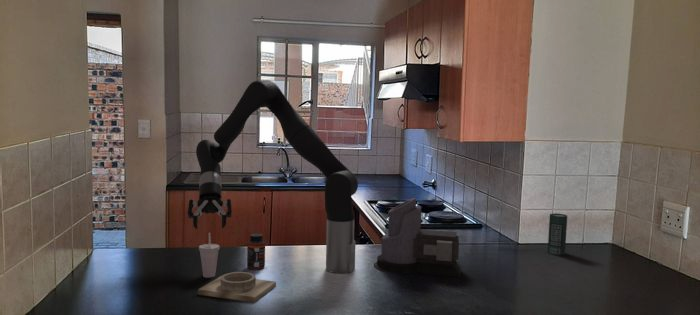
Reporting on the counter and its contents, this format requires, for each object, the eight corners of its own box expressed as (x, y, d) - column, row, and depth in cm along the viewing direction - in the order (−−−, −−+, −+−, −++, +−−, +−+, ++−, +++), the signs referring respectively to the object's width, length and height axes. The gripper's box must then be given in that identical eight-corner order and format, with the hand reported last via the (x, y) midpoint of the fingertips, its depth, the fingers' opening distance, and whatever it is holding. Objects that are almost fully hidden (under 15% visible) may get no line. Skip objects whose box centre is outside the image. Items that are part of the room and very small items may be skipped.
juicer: (369, 271, 179) (371, 199, 176) (377, 258, 194) (379, 192, 192) (460, 279, 172) (464, 204, 170) (461, 265, 188) (464, 196, 186)
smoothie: (201, 280, 165) (201, 235, 164) (196, 274, 171) (196, 231, 169) (221, 277, 168) (221, 234, 167) (216, 271, 174) (216, 229, 172)
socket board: (275, 286, 161) (276, 273, 160) (255, 302, 147) (255, 288, 147) (222, 279, 166) (222, 267, 165) (198, 294, 152) (198, 281, 152)
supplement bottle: (261, 271, 175) (261, 237, 174) (244, 269, 177) (244, 236, 176) (267, 265, 181) (267, 233, 180) (251, 264, 182) (251, 232, 181)
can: (566, 252, 208) (568, 214, 206) (562, 255, 203) (565, 217, 201) (549, 249, 211) (552, 212, 210) (546, 253, 206) (548, 215, 205)
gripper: (188, 181, 181) (186, 221, 171) (231, 180, 184) (232, 220, 174) (189, 194, 187) (187, 233, 177) (231, 193, 190) (231, 232, 180)
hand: (209, 227), depth 175 cm, fingers open, 8 cm apart
